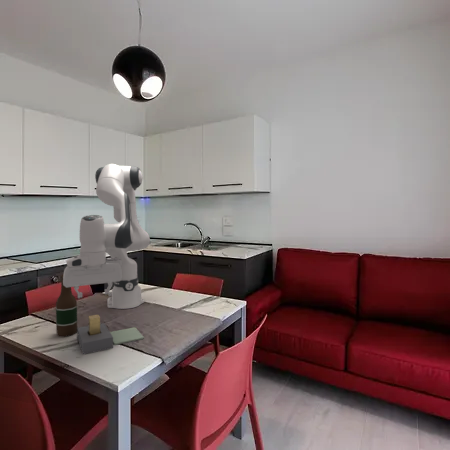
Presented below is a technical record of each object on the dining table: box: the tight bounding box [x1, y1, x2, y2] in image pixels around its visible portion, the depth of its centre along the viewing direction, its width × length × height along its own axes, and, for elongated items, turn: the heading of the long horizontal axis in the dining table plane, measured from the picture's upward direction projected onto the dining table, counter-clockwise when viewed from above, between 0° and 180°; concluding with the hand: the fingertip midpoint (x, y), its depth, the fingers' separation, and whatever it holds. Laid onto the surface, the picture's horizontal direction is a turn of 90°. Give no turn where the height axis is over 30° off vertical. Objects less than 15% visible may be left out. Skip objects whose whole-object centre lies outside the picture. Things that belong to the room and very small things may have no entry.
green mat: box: [109, 326, 145, 346], centre depth 124 cm, size 12×11×1 cm
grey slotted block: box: [76, 322, 114, 355], centre depth 118 cm, size 16×10×4 cm, turn 32°
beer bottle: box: [55, 273, 78, 338], centre depth 126 cm, size 8×8×24 cm
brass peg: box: [87, 314, 101, 336], centre depth 118 cm, size 4×4×10 cm
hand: (93, 295), depth 117 cm, fingers open, 8 cm apart
